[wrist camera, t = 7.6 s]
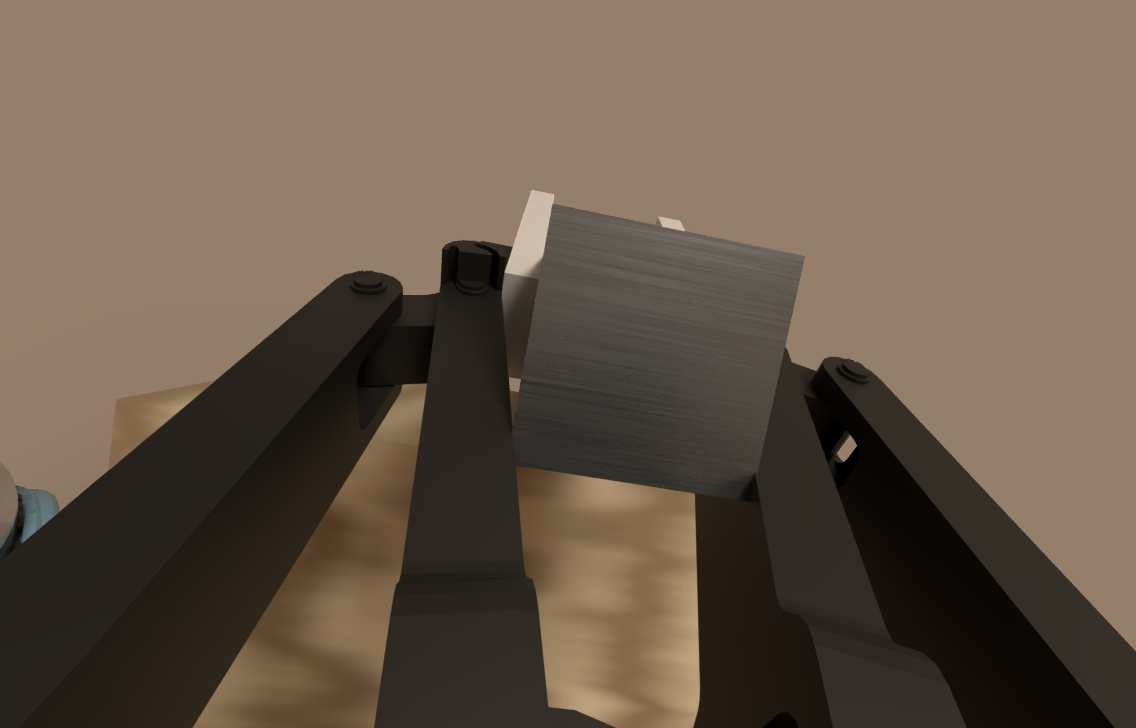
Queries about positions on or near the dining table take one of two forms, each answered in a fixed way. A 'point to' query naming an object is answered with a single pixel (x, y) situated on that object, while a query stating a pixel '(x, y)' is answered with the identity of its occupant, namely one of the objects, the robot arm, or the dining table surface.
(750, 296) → the t handle
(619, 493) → the zigzag patterned box
